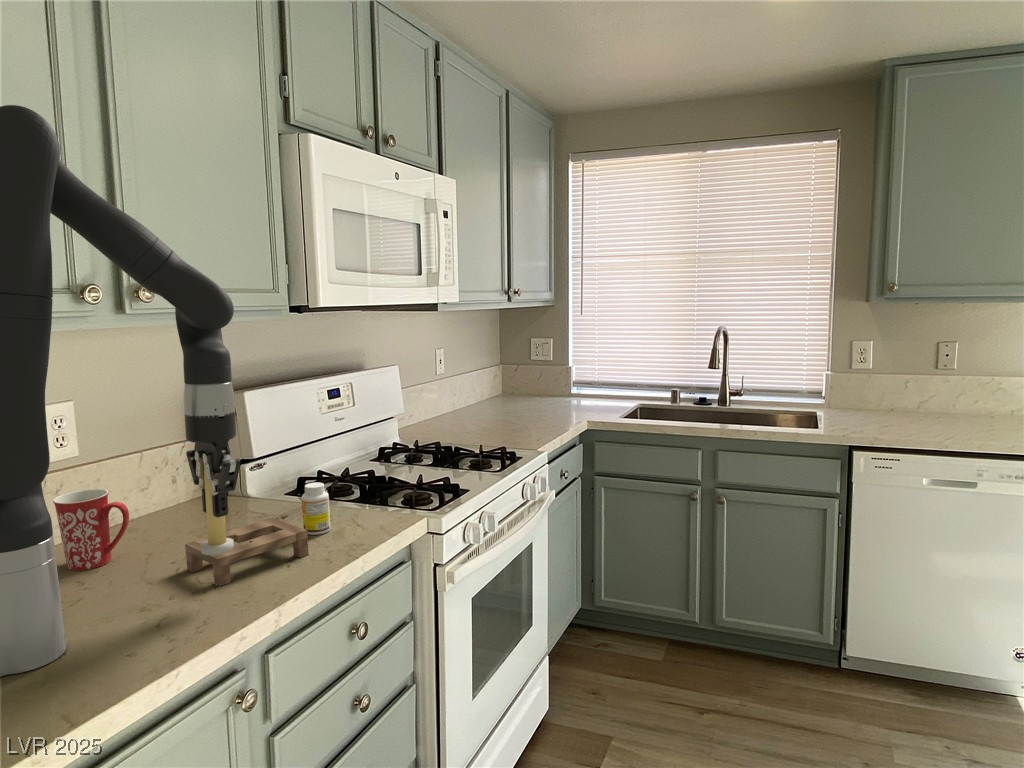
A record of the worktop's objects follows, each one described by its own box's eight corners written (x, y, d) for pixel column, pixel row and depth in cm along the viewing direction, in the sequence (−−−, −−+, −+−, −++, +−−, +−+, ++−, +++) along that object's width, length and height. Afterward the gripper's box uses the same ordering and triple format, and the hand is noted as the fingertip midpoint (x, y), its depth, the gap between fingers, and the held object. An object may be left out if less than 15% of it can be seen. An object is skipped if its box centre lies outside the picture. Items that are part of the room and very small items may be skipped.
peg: (210, 557, 111) (205, 464, 110) (195, 550, 115) (190, 460, 113) (239, 548, 115) (235, 459, 113) (224, 542, 118) (219, 454, 117)
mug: (49, 574, 128) (41, 503, 126) (79, 555, 137) (71, 489, 135) (118, 572, 128) (111, 501, 126) (143, 553, 137) (137, 487, 135)
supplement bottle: (310, 526, 151) (307, 480, 150) (334, 527, 150) (332, 481, 149) (299, 535, 146) (296, 488, 144) (324, 536, 145) (321, 488, 143)
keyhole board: (220, 586, 121) (217, 559, 120) (187, 569, 129) (185, 543, 128) (308, 554, 135) (307, 530, 134) (274, 541, 142) (272, 517, 142)
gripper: (166, 408, 114) (173, 511, 116) (208, 417, 105) (214, 528, 107) (211, 403, 119) (216, 501, 121) (254, 411, 110) (259, 516, 113)
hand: (215, 513), depth 114 cm, fingers closed on peg, 2 cm apart
